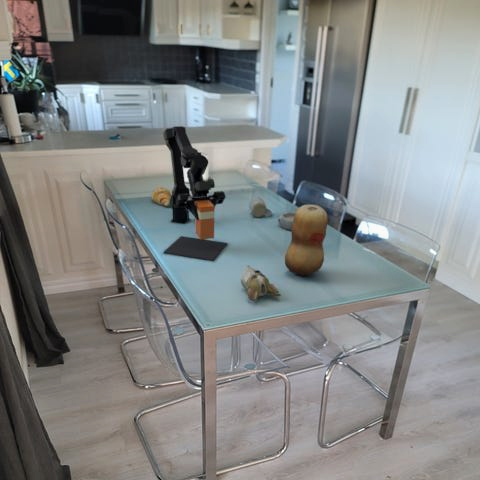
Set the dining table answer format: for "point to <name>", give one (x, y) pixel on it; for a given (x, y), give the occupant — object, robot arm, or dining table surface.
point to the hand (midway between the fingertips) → (205, 219)
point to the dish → (286, 220)
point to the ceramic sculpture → (257, 284)
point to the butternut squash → (307, 240)
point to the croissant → (161, 196)
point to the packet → (205, 219)
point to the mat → (196, 248)
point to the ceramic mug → (259, 207)
